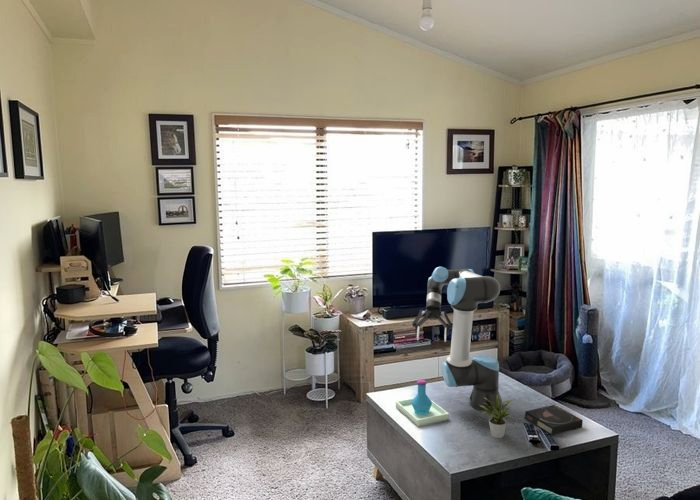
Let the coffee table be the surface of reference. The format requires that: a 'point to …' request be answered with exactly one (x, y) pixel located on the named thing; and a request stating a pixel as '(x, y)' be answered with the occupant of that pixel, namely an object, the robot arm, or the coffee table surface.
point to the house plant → (497, 417)
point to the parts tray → (433, 416)
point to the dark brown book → (553, 419)
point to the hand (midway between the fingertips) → (431, 339)
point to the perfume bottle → (421, 399)
